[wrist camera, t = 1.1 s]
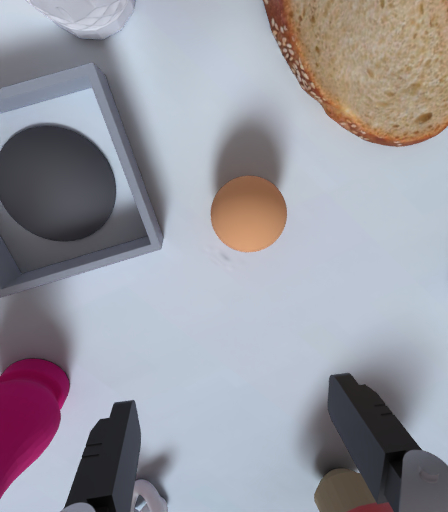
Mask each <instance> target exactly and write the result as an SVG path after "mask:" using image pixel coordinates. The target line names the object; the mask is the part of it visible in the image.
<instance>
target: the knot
mask: <svg viewBox="0 0 448 512" xmlns="http://www.w3.org/2000/svg"><path fill="white" fill-rule="evenodd" d="M139 495H141V496H142V497H143V498H144V499H145V501H146V502H147V503H146V505H145V506H144V507H143V508H142V509H141V511H140V512H168V507H167V503H166V501H165V499H164V498H162V497H160V495H159V493H158V491H157V490H156V488H155V487H154V486H153V485H152V484H151V483H150V482H149V481H147V480H144V479H140V480H137V481H135V485H134V491H133V498H132V504H131V511H130V512H139V511H138V510H137V509H135V504H136V501H137V498H138V496H139Z"/></svg>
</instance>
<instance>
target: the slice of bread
mask: <svg viewBox="0 0 448 512" xmlns="http://www.w3.org/2000/svg"><path fill="white" fill-rule="evenodd" d="M263 2H264V5H265V9H266V13H267V16H268V20H269V23H270V27H271V31H272V33H273V36H274V37H275V39H276V41H277V43H278V45H279V48H280V51H281V53H282V55H283V56H284V58H285V59H286V61H287V63H288V65H289V66H290V68H291V71H292V72H293V74H294V75H295V77H296V78H297V80H298V82H299V84H300V86H301V87H302V89H303V90H304V91H306V92H307V93H308V94H309V95H310V96H311V97H313V98H314V99H315V100H317V101H318V102H319V103H320V104H321V105H322V107H323V108H324V110H325V112H326V114H327V115H328V116H329V117H330V118H331V119H333V120H334V121H336V122H337V123H338V124H339V125H341V126H342V127H343V128H345V129H346V130H348V131H350V132H351V133H353V134H355V135H357V136H358V137H360V138H361V139H364V140H366V141H369V142H372V143H377V144H381V145H387V146H396V147H401V146H408V145H413V144H416V143H420V142H423V141H425V140H428V139H430V138H432V137H434V136H436V135H438V134H439V133H440V132H442V131H443V130H444V129H445V128H446V127H447V126H448V0H263Z"/></svg>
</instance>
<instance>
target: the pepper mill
mask: <svg viewBox="0 0 448 512" xmlns="http://www.w3.org/2000/svg"><path fill="white" fill-rule="evenodd" d="M69 386H70V385H69V380H68V378H67V376H66V374H65V372H64V371H63V370H62V369H61V368H60V367H59V366H57V365H55V364H53V363H52V362H49V361H46V360H42V359H24V360H21V361H18V362H15V363H13V364H12V365H10V366H9V367H8V368H7V369H6V370H5V371H4V372H3V374H2V375H1V376H0V499H1V497H2V495H3V494H4V492H5V491H6V490H7V488H8V487H9V486H10V485H11V483H12V482H13V481H14V480H15V479H16V478H17V477H18V476H19V475H20V474H21V473H22V472H23V471H24V470H25V469H26V468H27V467H29V466H30V465H31V464H32V463H33V462H34V461H35V460H36V459H37V458H38V457H39V456H40V455H41V454H42V453H43V451H44V450H45V449H46V448H47V447H48V445H49V444H50V442H51V441H52V439H53V437H54V435H55V434H56V432H57V430H58V428H59V424H60V420H61V413H60V409H61V408H62V406H63V404H64V402H65V400H66V398H67V396H68V393H69Z"/></svg>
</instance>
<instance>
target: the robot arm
mask: <svg viewBox="0 0 448 512" xmlns="http://www.w3.org/2000/svg"><path fill="white" fill-rule="evenodd" d="M328 411H329V414H330V417H331V420H332V422H333V424H334V425H335V427H336V429H337V431H338V433H339V435H340V436H341V438H342V440H343V442H344V444H345V446H346V448H347V449H348V451H349V453H350V455H351V457H352V459H353V460H354V462H355V464H356V466H357V468H358V470H359V472H360V473H361V475H362V477H363V479H364V481H365V483H366V484H367V486H368V488H369V490H370V492H371V494H372V495H373V497H374V499H375V501H376V503H377V504H382V503H387V502H389V504H390V506H391V508H392V509H393V512H448V466H447V465H446V464H445V463H444V462H443V461H442V460H441V459H440V458H438V457H437V456H435V455H433V454H431V453H429V452H426V451H422V449H421V448H420V447H419V446H418V445H417V443H416V442H415V441H414V439H413V438H412V437H411V436H410V434H409V433H408V432H407V431H406V429H405V428H404V427H403V426H402V424H401V423H400V422H399V420H398V419H397V418H396V417H395V415H393V414H392V412H391V410H390V409H389V408H388V407H387V406H386V405H385V403H384V401H383V400H382V399H381V398H380V396H379V395H378V394H377V393H376V392H375V391H373V390H372V389H370V388H369V387H368V386H366V385H365V384H364V385H358V383H357V382H356V380H355V379H354V378H353V376H352V375H351V374H350V373H343V374H336V375H331V376H330V378H329V392H328ZM140 445H141V431H140V425H139V420H138V414H137V409H136V404H135V401H134V400H131V401H123V402H115V403H114V405H113V407H112V411H111V414H110V418H105V419H100V420H99V421H98V422H97V424H96V425H95V426H94V428H93V429H92V430H91V432H90V434H89V437H88V440H87V443H86V448H85V449H84V452H83V455H82V459H81V461H80V464H79V467H78V470H77V472H76V475H75V478H74V481H73V484H72V487H71V490H70V493H69V496H68V499H67V502H66V504H65V507H64V509H63V510H62V511H60V512H130V511H131V504H132V498H133V491H134V485H135V478H136V472H137V465H138V459H139V452H140Z"/></svg>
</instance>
